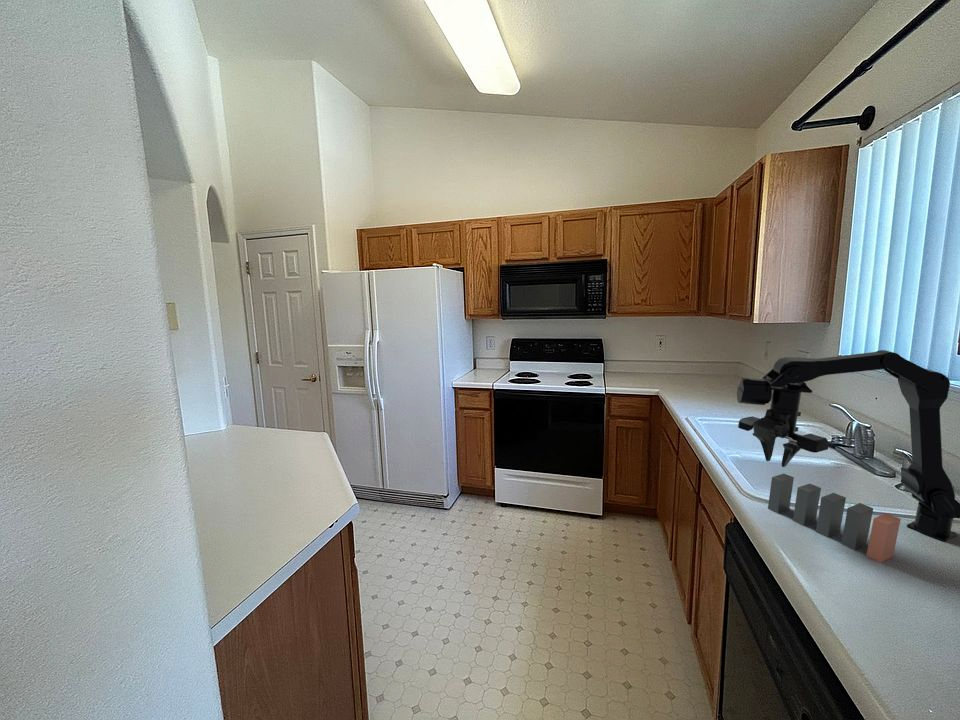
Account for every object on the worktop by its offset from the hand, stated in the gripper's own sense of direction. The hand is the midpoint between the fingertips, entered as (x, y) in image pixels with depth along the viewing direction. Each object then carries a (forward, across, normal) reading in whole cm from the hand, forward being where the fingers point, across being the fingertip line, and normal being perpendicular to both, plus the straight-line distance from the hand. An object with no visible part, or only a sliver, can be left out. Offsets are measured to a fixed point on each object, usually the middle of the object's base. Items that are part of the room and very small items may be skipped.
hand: (775, 463), depth 104 cm
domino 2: (+12, +8, 0) cm, 14 cm away
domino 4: (+12, +18, 0) cm, 22 cm away
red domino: (+12, +23, 0) cm, 25 cm away
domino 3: (+12, +13, 0) cm, 18 cm away
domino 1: (+12, +2, 0) cm, 12 cm away
